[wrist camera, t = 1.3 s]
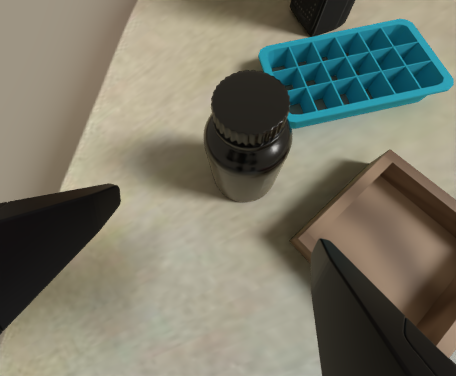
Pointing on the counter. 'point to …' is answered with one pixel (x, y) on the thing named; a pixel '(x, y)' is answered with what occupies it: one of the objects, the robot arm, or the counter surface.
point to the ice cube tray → (357, 61)
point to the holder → (397, 241)
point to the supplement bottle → (248, 134)
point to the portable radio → (321, 14)
